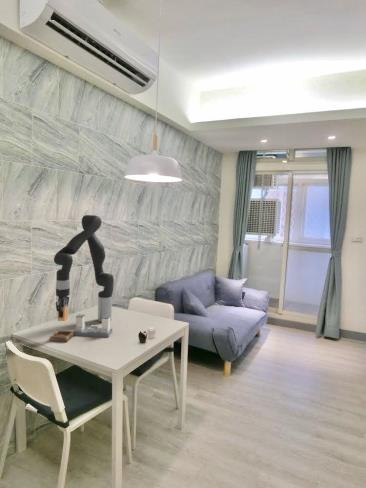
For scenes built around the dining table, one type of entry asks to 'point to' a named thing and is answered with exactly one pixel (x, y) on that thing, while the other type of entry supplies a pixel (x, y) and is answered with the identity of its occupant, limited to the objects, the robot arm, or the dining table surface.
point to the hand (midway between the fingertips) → (62, 316)
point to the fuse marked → (63, 313)
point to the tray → (62, 336)
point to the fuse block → (92, 327)
